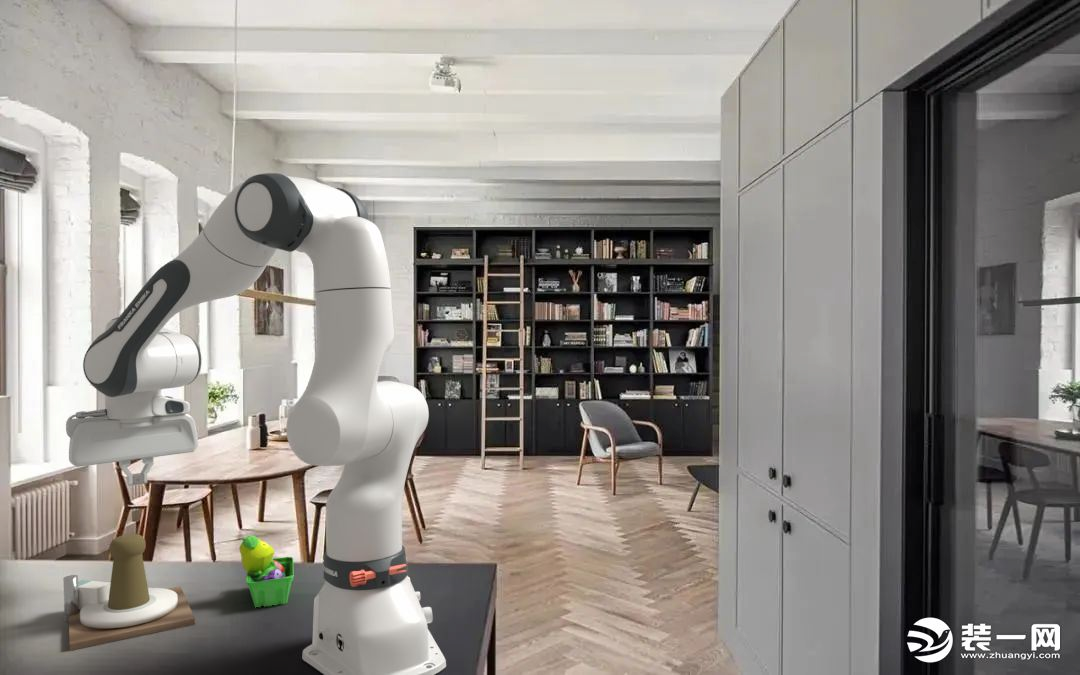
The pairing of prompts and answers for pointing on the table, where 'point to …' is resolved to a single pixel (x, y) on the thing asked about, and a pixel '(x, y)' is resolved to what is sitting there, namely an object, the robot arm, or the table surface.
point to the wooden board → (94, 636)
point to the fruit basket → (266, 572)
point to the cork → (128, 573)
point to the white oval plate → (100, 616)
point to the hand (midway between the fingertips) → (137, 484)
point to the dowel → (70, 596)
